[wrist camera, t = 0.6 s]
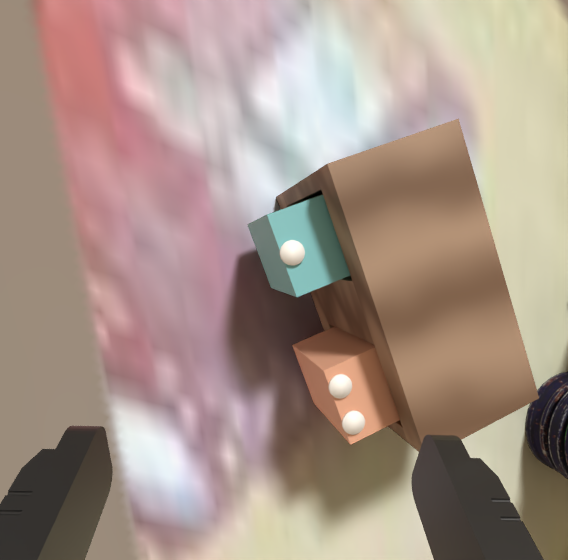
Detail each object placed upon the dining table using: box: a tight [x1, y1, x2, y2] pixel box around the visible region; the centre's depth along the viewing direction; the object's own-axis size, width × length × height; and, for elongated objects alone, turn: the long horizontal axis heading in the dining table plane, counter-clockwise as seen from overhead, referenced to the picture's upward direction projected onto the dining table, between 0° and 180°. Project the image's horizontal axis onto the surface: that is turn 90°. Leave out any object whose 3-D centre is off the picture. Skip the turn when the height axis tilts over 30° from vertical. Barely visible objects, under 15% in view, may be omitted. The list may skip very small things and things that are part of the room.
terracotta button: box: [292, 327, 400, 445], centre depth 28 cm, size 5×6×7 cm
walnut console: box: [276, 119, 539, 451], centre depth 29 cm, size 17×8×12 cm, turn 20°
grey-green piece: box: [248, 195, 350, 297], centre depth 27 cm, size 5×6×7 cm
